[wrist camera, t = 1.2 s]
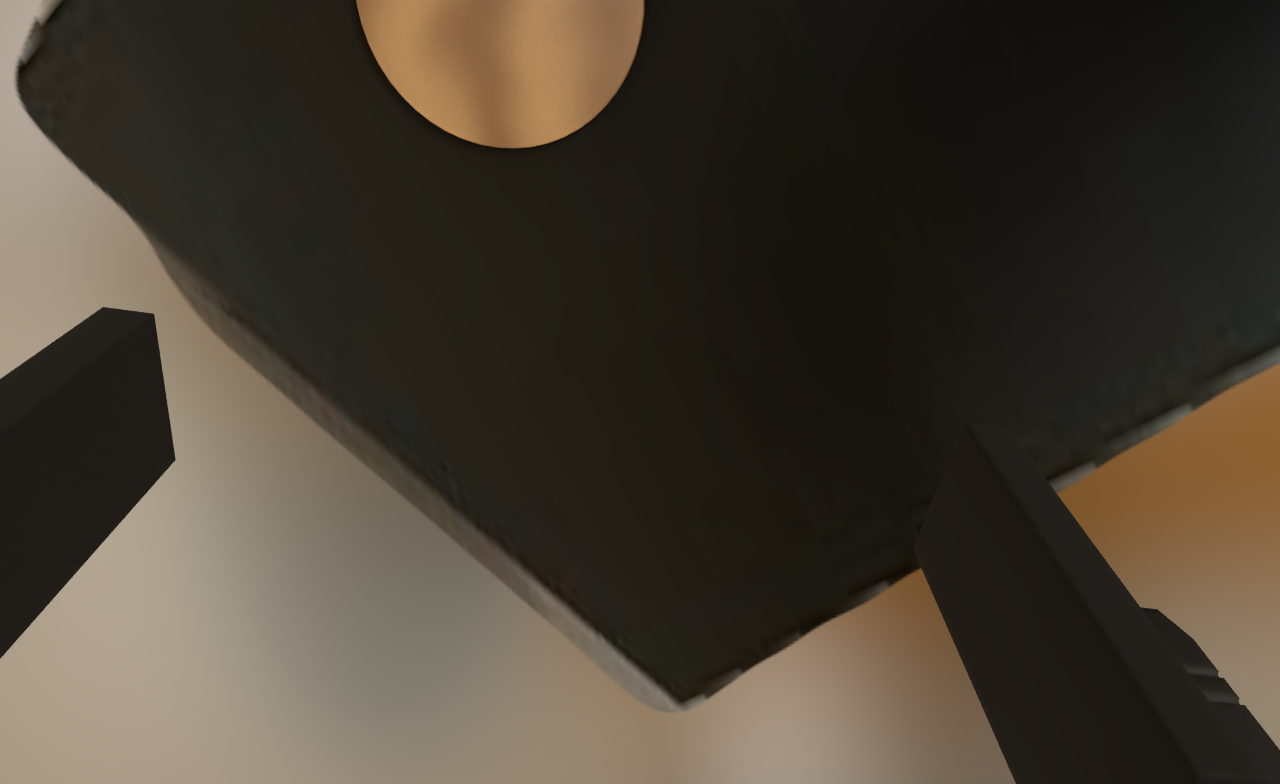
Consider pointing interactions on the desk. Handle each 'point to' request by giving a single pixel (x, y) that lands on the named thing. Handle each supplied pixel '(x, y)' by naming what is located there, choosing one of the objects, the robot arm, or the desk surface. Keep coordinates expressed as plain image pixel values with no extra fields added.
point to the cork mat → (505, 62)
